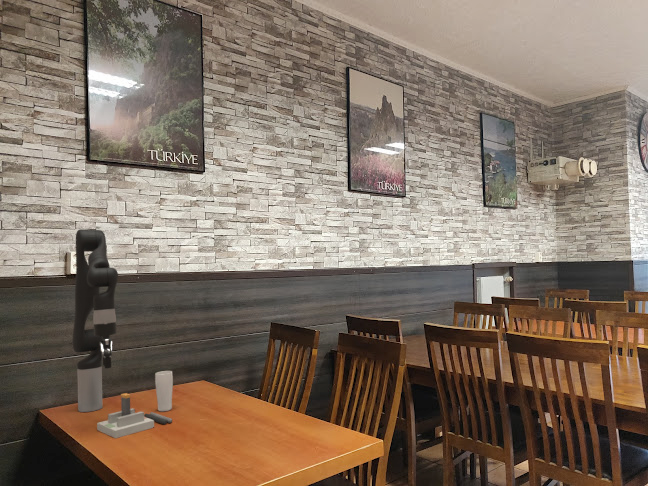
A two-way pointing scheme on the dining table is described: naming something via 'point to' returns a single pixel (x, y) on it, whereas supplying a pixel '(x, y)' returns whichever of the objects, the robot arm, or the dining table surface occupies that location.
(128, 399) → the lever
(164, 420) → the cable bundle
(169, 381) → the drinking glass
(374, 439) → the dining table surface
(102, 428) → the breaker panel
